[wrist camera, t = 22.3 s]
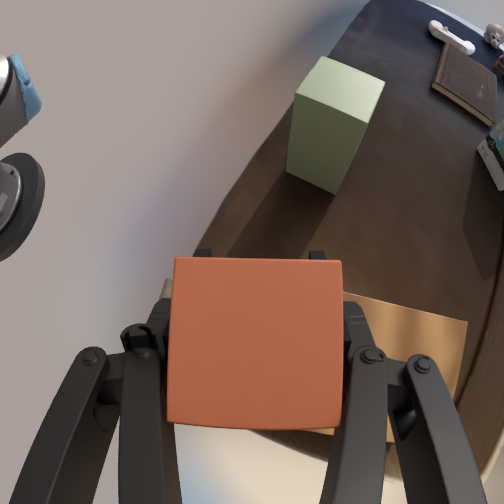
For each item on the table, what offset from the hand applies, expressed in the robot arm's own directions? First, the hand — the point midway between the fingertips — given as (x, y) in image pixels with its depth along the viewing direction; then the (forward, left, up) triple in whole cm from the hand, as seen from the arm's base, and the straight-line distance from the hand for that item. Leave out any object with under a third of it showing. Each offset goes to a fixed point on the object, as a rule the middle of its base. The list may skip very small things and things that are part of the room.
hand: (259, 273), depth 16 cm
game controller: (+50, +68, -23) cm, 88 cm away
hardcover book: (+47, +50, -23) cm, 72 cm away
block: (0, -4, -2) cm, 4 cm away
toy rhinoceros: (+72, +78, -23) cm, 109 cm away
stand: (+9, +22, -23) cm, 33 cm away
